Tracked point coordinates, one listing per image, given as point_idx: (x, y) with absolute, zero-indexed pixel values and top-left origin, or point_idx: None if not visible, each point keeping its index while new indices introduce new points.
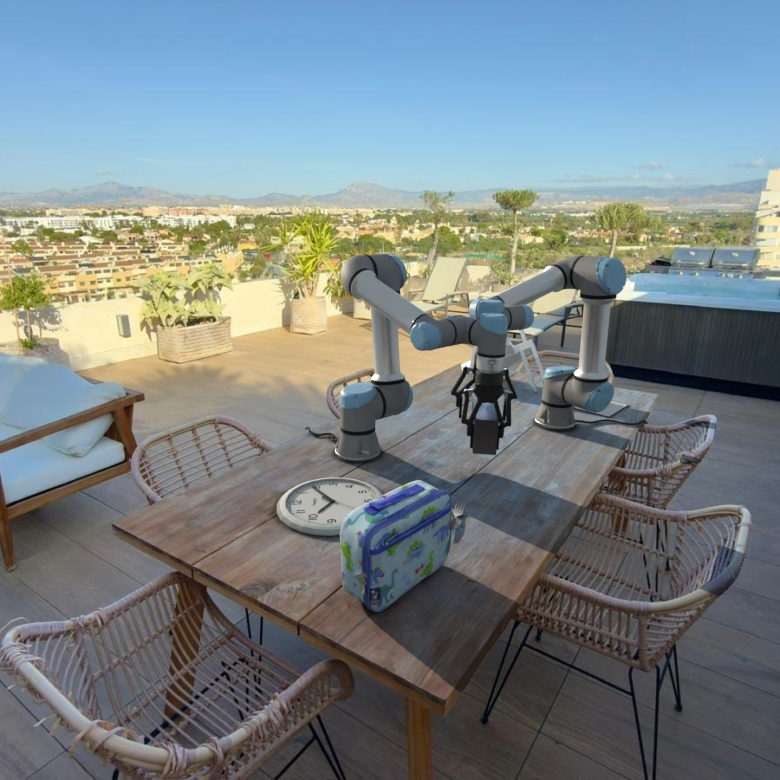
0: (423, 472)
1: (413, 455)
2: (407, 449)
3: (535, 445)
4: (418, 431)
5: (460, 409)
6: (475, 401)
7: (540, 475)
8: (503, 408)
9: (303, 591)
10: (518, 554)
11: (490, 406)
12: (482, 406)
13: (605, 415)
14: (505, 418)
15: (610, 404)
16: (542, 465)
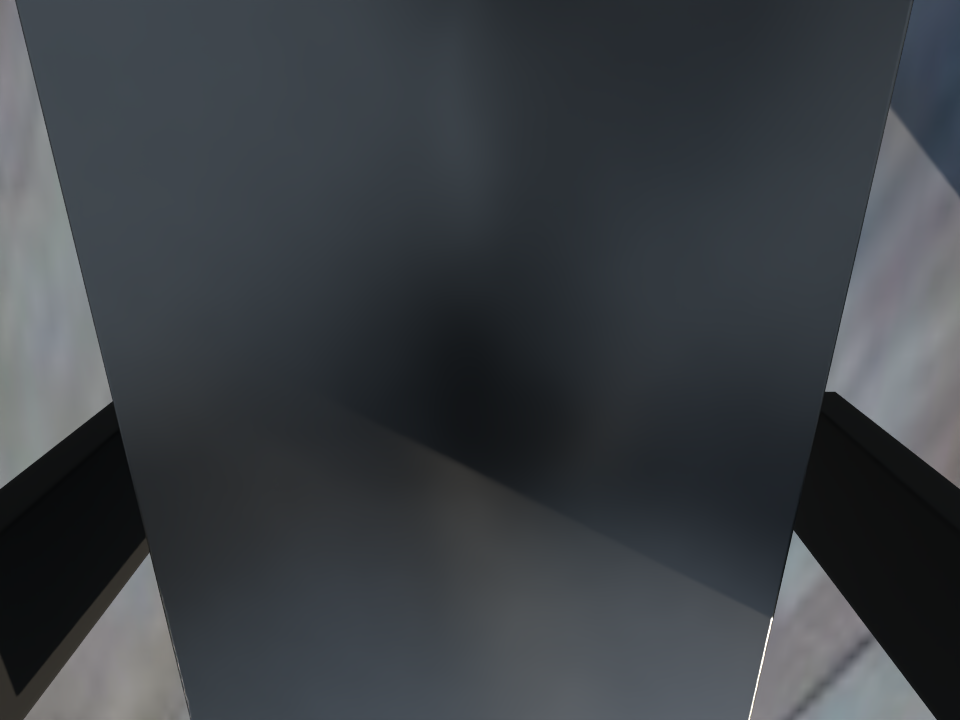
0: (899, 73)
1: (919, 351)
2: (942, 436)
3: (112, 603)
4: (822, 683)
5: (911, 467)
6: (728, 537)
7: (33, 163)
8: (76, 579)
9: None
10: None
11: (248, 117)
12: (559, 63)
13: None
14: (104, 409)
15: None
16: (38, 330)
